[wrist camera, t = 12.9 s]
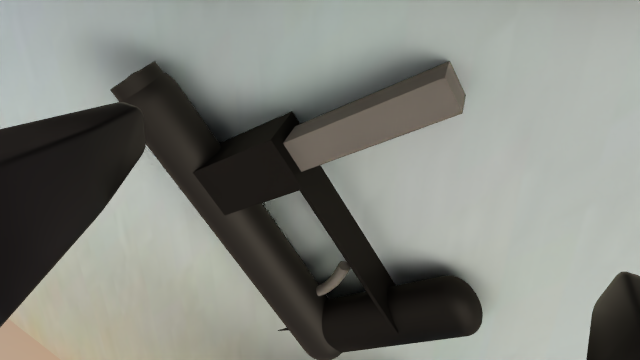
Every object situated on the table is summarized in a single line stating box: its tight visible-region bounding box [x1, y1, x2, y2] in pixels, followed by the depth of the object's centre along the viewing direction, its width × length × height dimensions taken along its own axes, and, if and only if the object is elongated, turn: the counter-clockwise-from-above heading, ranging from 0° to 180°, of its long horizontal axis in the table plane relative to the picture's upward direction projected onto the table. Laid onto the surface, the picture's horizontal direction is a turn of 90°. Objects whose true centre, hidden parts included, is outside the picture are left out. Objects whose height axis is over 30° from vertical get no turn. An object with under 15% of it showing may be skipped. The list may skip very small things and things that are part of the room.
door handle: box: [111, 61, 482, 360], centre depth 26 cm, size 3×20×16 cm
